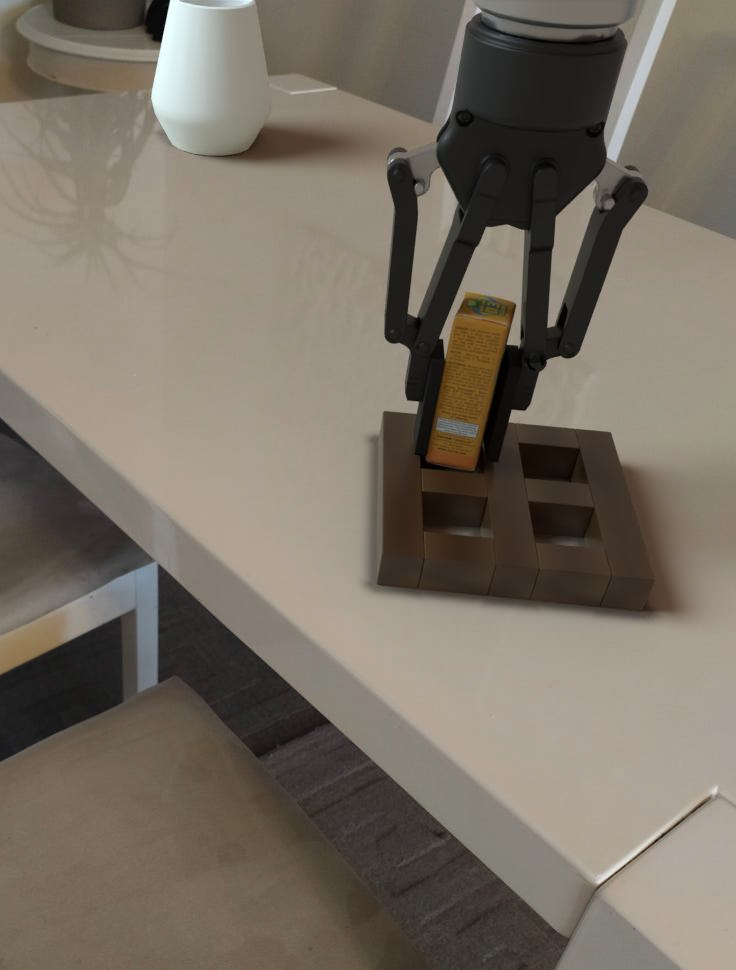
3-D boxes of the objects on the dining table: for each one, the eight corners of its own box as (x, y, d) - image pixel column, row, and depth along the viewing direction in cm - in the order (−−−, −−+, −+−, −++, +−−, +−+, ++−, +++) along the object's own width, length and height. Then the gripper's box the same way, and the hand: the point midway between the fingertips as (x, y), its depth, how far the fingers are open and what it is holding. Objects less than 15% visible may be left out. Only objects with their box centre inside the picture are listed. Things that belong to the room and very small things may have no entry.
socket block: (598, 469, 67) (611, 431, 65) (638, 619, 56) (655, 580, 54) (377, 448, 67) (383, 410, 65) (374, 592, 57) (381, 553, 54)
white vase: (127, 136, 110) (121, -9, 101) (217, 115, 117) (220, -23, 107) (204, 171, 104) (205, 19, 94) (294, 147, 110) (304, 3, 101)
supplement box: (478, 474, 61) (509, 323, 54) (423, 464, 61) (447, 313, 54) (486, 446, 63) (518, 298, 56) (434, 436, 64) (458, 288, 57)
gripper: (367, 25, 43) (319, 468, 59) (753, 54, 42) (597, 494, 59) (369, -12, 48) (325, 403, 65) (713, 13, 48) (580, 426, 64)
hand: (455, 446), depth 62 cm, fingers closed on supplement box, 4 cm apart
